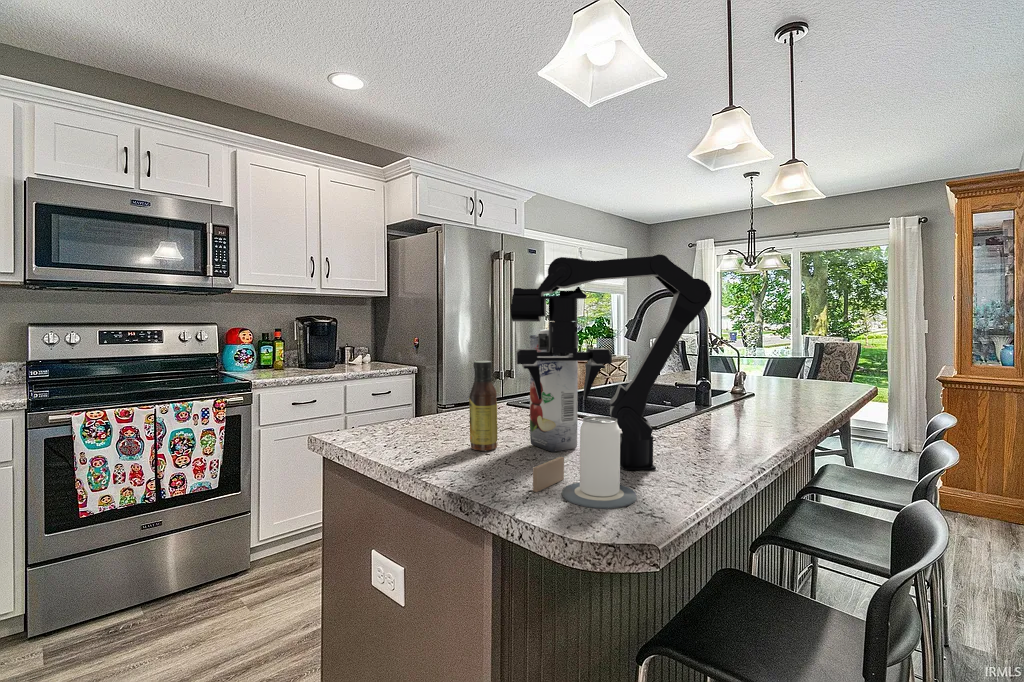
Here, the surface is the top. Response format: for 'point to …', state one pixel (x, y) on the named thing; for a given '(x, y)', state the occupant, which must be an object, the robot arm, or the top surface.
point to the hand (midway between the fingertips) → (562, 399)
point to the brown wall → (548, 474)
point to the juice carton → (554, 403)
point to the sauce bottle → (483, 409)
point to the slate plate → (579, 498)
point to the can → (600, 456)
